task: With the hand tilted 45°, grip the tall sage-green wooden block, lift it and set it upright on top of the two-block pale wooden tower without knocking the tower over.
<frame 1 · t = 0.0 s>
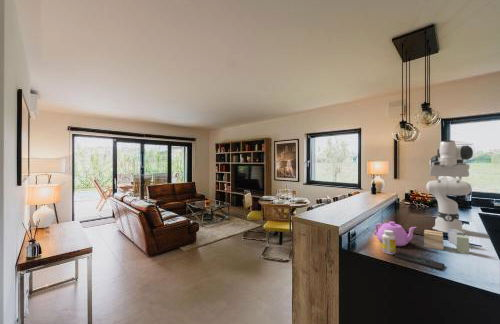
hand: (448, 183, 148), 39 cm above the counter, tool pointing down, fingers open, 8 cm apart
smart home device: (418, 262, 116), on the counter
teapot: (394, 242, 143), on the counter
medicine box: (456, 244, 139), on the counter
supplement bottle: (389, 252, 128), on the counter
tower top block: (433, 239, 136), point 4 cm above the counter, touching tower base block
sage block: (462, 251, 128), on the counter
tower base block: (433, 246, 136), on the counter, touching tower top block
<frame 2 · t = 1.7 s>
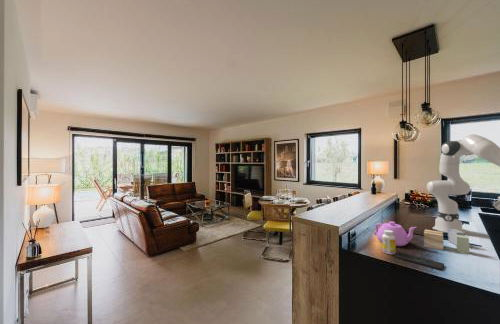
hand: (495, 207, 119), 28 cm above the counter, tool tilted 45°, fingers open, 8 cm apart
nothing on the counter moved.
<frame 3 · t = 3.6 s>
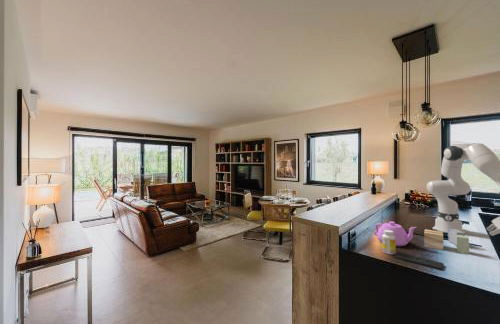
hand: (488, 232, 121), 14 cm above the counter, tool tilted 45°, fingers open, 8 cm apart
nothing on the counter moved.
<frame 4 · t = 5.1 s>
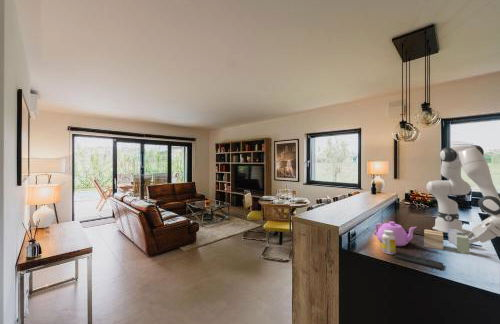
hand: (468, 240, 126), 7 cm above the counter, tool tilted 45°, fingers open, 8 cm apart
nothing on the counter moved.
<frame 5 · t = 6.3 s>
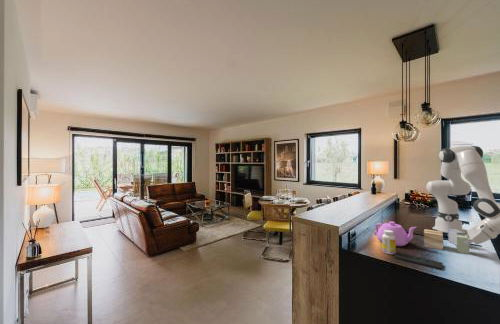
hand: (463, 241, 127), 6 cm above the counter, tool tilted 45°, fingers closed on sage block, 5 cm apart
sage block: (462, 251, 128), on the counter, touching gripper
everything else where it was.
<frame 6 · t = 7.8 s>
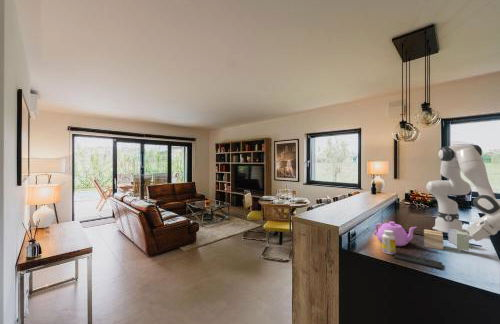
hand: (463, 238, 128), 8 cm above the counter, tool tilted 45°, fingers closed on sage block, 5 cm apart
sage block: (462, 248, 128), point 2 cm above the counter, touching gripper
everything else where it was.
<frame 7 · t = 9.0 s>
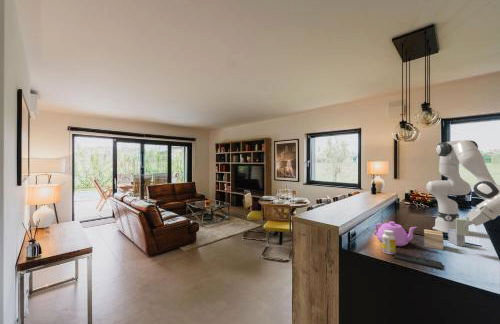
hand: (462, 224, 128), 16 cm above the counter, tool tilted 45°, fingers closed on sage block, 5 cm apart
sage block: (462, 234, 128), point 10 cm above the counter, touching gripper
when the fingers open (16 cm above the counter, at t = 12.2 s): sage block drops 2 cm, resting on tower top block.
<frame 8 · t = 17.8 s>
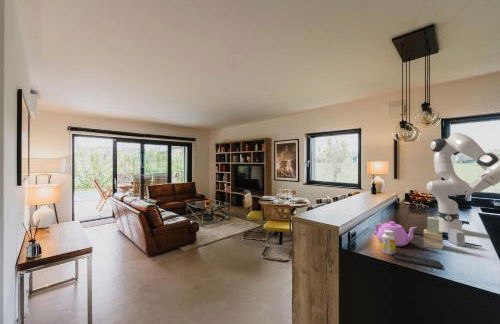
hand: (465, 193, 135), 33 cm above the counter, tool tilted 45°, fingers open, 8 cm apart
tower top block: (432, 239, 137), point 4 cm above the counter, touching sage block, tower base block
sage block: (433, 232, 137), point 9 cm above the counter, touching tower top block
at the end: sage block 0.4 cm off-centre on the tower top block, point 4.5 cm above the tower top block's base; tower top block 0.2 cm off-centre on the tower base block, point 4.5 cm above the tower base block's base; sage block tilted 0° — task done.
